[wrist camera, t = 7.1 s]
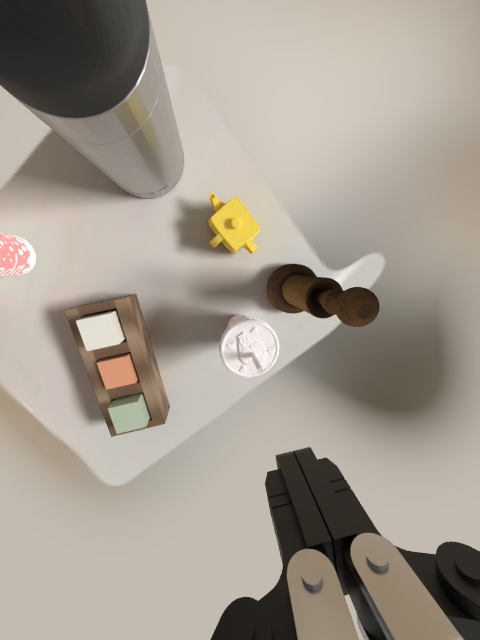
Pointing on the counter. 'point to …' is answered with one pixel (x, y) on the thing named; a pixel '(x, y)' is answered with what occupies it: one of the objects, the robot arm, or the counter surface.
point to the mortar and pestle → (320, 296)
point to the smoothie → (248, 346)
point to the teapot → (232, 225)
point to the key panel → (133, 343)
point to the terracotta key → (118, 370)
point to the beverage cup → (15, 255)
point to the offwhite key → (101, 330)
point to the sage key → (129, 412)
